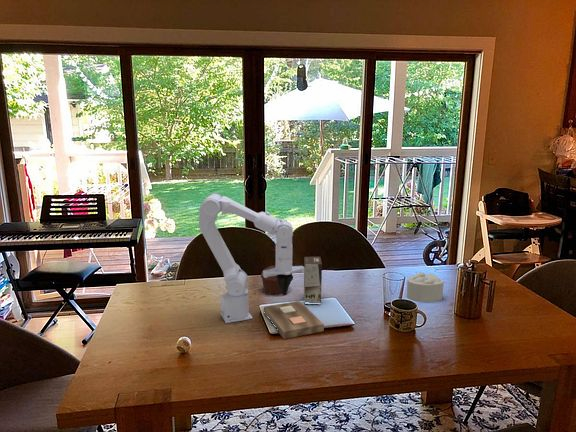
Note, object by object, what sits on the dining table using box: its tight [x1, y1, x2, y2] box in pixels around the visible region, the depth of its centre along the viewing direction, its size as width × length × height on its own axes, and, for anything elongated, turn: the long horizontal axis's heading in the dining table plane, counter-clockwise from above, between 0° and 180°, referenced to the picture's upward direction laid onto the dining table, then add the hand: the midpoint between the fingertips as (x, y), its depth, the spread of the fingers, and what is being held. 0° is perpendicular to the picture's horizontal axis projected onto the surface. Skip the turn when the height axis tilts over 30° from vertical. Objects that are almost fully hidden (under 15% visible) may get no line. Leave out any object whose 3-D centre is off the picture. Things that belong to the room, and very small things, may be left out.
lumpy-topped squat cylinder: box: [406, 271, 444, 303], centre depth 173 cm, size 10×13×9 cm
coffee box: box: [303, 256, 323, 304], centre depth 170 cm, size 9×6×16 cm
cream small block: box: [279, 306, 296, 314], centre depth 157 cm, size 4×4×2 cm
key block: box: [263, 300, 325, 340], centre depth 153 cm, size 14×20×2 cm
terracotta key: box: [289, 316, 306, 325], centre depth 149 cm, size 4×4×2 cm
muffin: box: [260, 265, 282, 296], centre depth 179 cm, size 12×11×10 cm
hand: (283, 294), depth 156 cm, fingers closed
